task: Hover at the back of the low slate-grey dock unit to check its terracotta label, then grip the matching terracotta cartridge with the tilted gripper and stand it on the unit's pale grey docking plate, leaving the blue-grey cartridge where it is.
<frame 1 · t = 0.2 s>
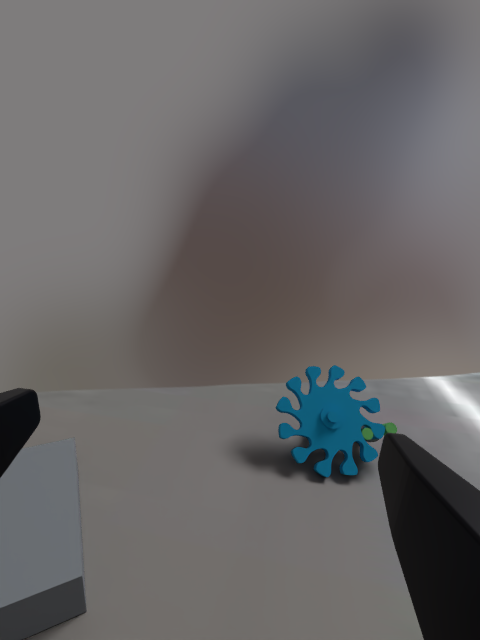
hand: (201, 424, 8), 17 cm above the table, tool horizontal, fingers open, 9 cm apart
gear: (327, 452, 32), on the table
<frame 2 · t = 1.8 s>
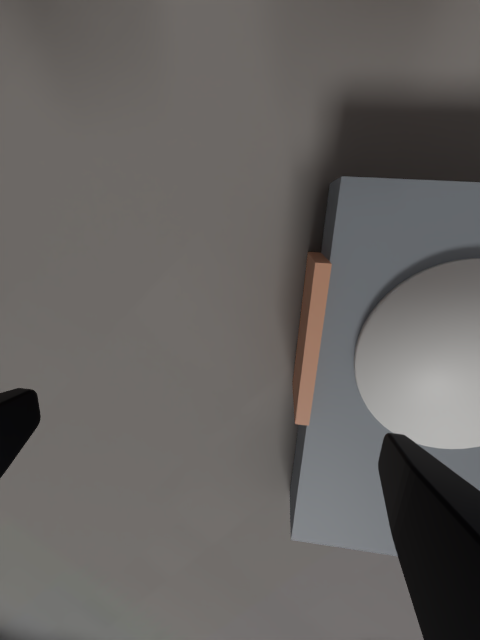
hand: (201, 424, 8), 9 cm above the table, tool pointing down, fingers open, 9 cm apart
dock unit: (426, 333, 16), on the table
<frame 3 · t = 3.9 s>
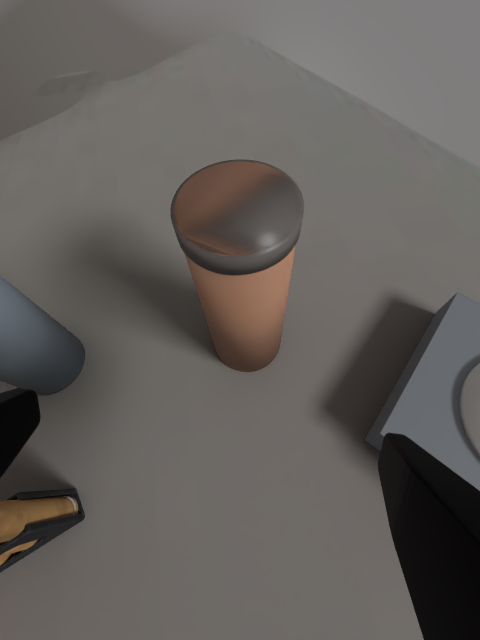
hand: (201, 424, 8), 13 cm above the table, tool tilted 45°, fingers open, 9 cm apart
terracotta cartridge: (247, 340, 24), on the table
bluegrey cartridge: (52, 362, 24), on the table
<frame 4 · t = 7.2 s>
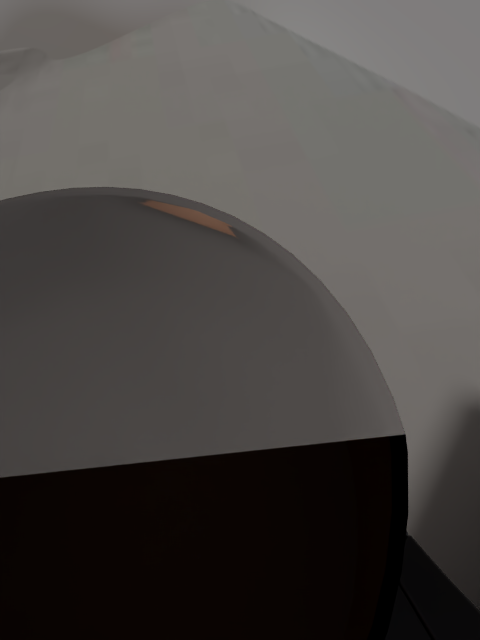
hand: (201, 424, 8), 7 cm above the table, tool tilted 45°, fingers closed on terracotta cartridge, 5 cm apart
terracotta cartridge: (219, 485, 14), on the table, touching gripper
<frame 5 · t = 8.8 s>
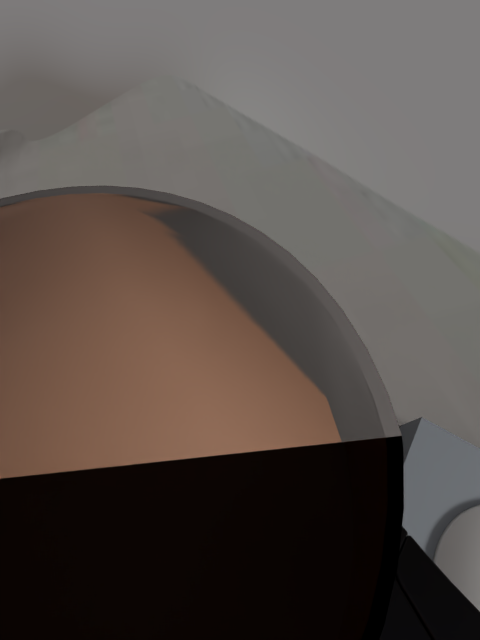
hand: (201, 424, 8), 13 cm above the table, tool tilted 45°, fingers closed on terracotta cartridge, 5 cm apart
terracotta cartridge: (219, 485, 14), point 7 cm above the table, touching gripper
when the fingers open (11 cm above the table, at t = 10.7 s): terracotta cartridge drops 1 cm, resting on dock unit.
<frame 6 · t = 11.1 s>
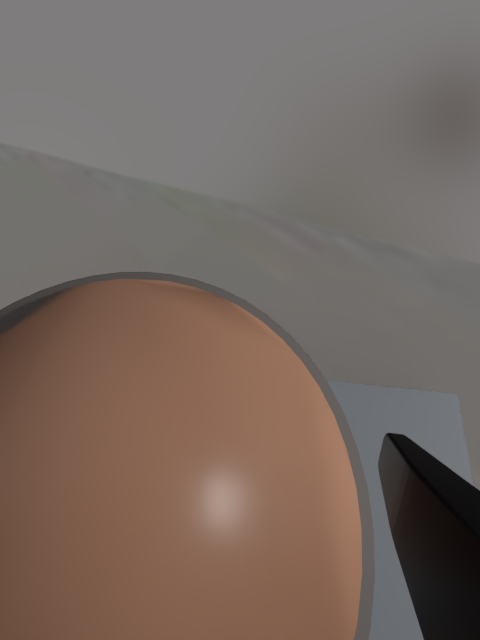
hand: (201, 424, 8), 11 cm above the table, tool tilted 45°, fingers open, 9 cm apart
dock unit: (228, 485, 18), on the table
terracotta cartridge: (221, 486, 15), point 3 cm above the table, touching dock unit
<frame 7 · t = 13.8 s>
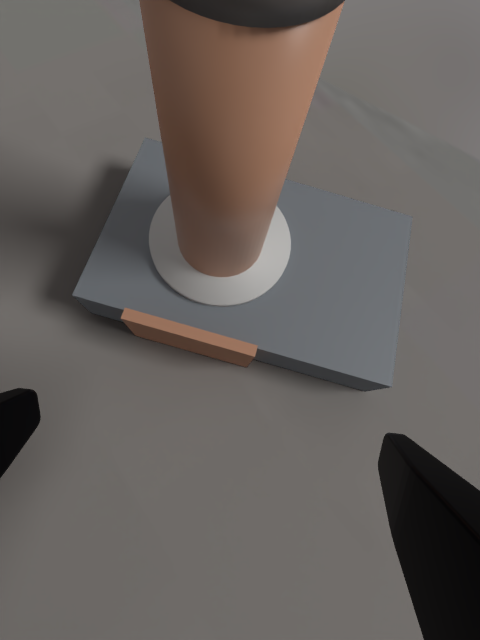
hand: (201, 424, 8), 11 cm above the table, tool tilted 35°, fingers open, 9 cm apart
dock unit: (219, 264, 22), on the table
terracotta cartridge: (220, 238, 18), point 3 cm above the table, touching dock unit
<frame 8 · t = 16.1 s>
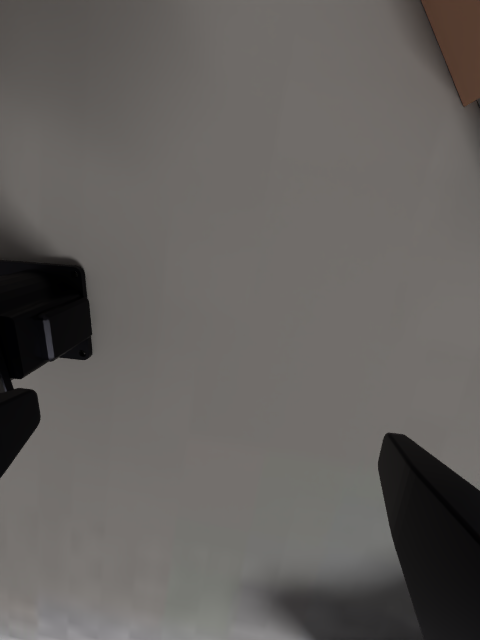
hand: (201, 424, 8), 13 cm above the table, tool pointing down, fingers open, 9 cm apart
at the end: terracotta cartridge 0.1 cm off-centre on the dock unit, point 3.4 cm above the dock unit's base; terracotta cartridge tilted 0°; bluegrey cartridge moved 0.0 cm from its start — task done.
